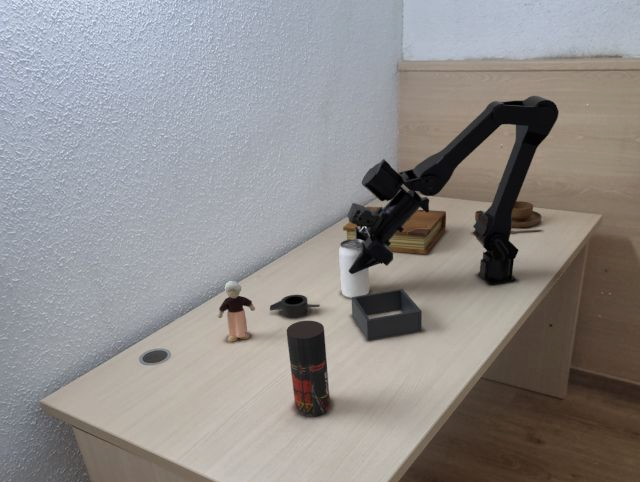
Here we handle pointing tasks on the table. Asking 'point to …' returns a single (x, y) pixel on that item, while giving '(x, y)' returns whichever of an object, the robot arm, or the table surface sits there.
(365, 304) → the bin
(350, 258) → the can
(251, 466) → the table surface
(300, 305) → the dark ring with tabs
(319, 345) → the deodorant
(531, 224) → the place setting
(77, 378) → the table surface
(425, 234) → the diary
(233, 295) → the grandmother figurine
